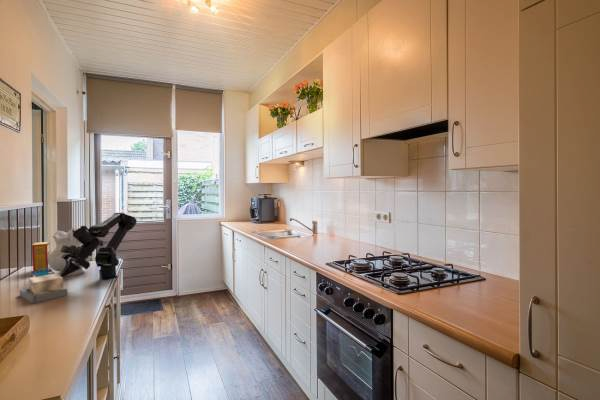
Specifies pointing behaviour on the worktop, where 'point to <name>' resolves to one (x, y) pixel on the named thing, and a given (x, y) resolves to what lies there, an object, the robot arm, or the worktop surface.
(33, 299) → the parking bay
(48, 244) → the baking soda box
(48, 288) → the oak block
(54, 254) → the ceramic pitcher
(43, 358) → the worktop surface
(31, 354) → the worktop surface
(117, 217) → the robot arm
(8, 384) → the worktop surface
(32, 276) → the gear
